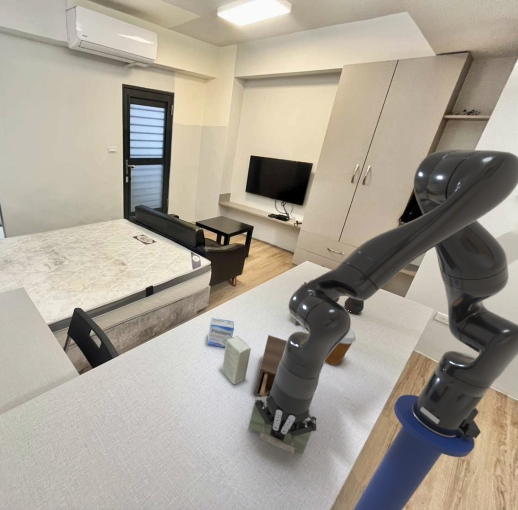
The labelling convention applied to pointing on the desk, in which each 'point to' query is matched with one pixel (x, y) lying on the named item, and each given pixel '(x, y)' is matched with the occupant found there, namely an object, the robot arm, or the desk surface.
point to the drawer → (262, 428)
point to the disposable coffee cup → (341, 349)
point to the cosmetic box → (236, 359)
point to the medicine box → (220, 332)
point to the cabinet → (270, 359)
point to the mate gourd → (354, 305)
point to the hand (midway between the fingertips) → (275, 438)
